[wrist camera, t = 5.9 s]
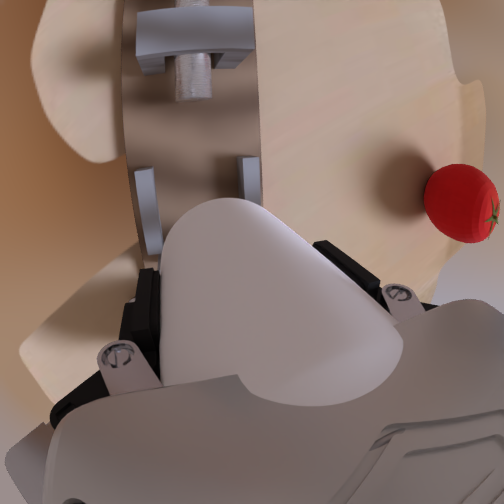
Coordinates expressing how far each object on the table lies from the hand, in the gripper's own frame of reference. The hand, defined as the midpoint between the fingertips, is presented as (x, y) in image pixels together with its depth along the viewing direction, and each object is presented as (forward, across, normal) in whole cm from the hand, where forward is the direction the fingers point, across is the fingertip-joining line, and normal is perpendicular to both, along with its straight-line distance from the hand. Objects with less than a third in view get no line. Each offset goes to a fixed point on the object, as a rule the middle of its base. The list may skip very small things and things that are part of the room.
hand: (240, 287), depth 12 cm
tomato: (+19, -35, +2) cm, 40 cm away
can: (+3, 0, 0) cm, 3 cm away
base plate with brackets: (+18, 0, -10) cm, 21 cm away
